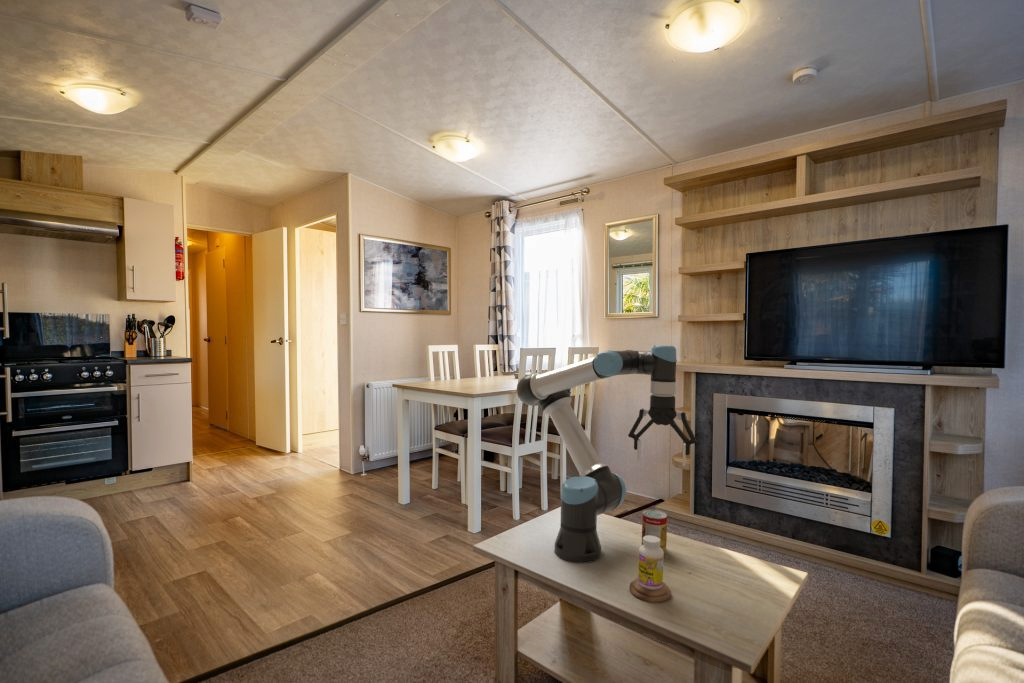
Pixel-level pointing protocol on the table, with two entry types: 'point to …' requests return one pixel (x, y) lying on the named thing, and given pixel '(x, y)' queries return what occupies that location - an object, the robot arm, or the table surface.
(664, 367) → the robot arm
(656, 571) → the supplement bottle
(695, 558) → the table surface
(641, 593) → the plinth
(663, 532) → the canned food
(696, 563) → the table surface
